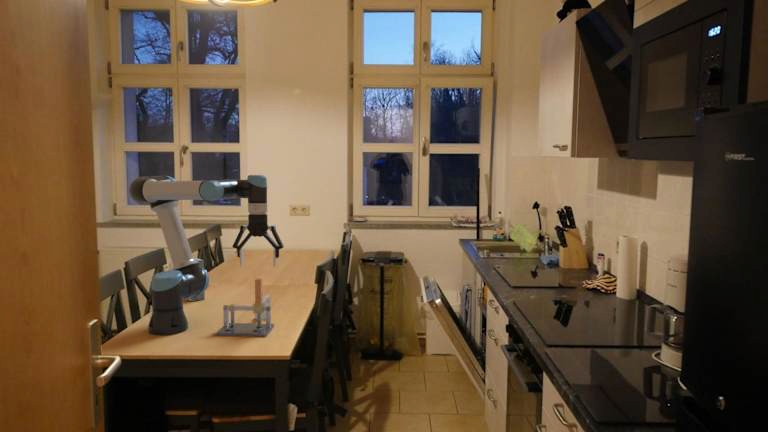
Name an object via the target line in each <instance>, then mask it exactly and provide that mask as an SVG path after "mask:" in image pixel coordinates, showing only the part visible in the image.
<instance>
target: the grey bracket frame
mask: <svg viewBox="0 0 768 432" xmlns="http://www.w3.org/2000/svg"><path fill="white" fill-rule="evenodd" d="M253 306H254V305H237V304H236V303H231V304H227V305H225V304H224V305H223V326H224V327H228V326H229V323H231V327H234V326H235V323H236V322H235V312H236V311H243V312H244V311H245V312H246V311H247V312H248V311H251V312H252V311H253V312H254V310H253ZM263 311H266V319H265V324H266V328H270V327H271V324H272V321H271V319H272V316H271V315H272V313H271V311H272V309H271V310H270V306H263ZM229 312H230V322H229Z"/></svg>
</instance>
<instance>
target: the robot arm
mask: <svg viewBox="0 0 768 432" xmlns="http://www.w3.org/2000/svg"><path fill="white" fill-rule="evenodd" d="M128 193H129V195H130V196H129V197H130V198H131V199H132V200H133V201H134V202H136V203H137V204H140V205H149V206H150V207H149V208H150V210H151V211H152V212H154V213H156V216H157V219H158V222H159V224H160V228H161V231H162V234H163V238H164V240H165V244H166V247H167V250H168V254H169V256H170V259H171V263H172V265H173V266H172V267H171V270H165V271H164V270H163V271H161V272H157V273H156V274H154V275H153V276H152V278H151V284H150V285H151V286H150V288H151V306H152V307H151V309H152V310H151V311H152V313H151V315H150V319H149V322H148V326H147V327H148V328H147V329H148V333H149V334H152V335H156V336H157V335H158V336H165V335H167V336H168V335H174V334H178V333H183V332H186V330H188V328H189V322H188V319H187V316H186V313H185V311H184V300H185V299H187V298H190V297H193V296H197V295H199V294H201V293H203V292H204V291H207V289H208V286H209V285H210V276H209V272H208V271H207V269H205V267H204V268H202V267H200V265H199V262H197V261H195V260H194V259H193V258H194V255H193V253H192V250H191V247H190V243H189V240H188V238H187V234H186V232H185V227H184V225H183V222H182V219H181V216H180V215H181V214H180V212H179V210H178V206H179V204H180V201H182V200H183V201H201V200H202V201H203V200H204V201H205V200H206V201H210V202H211V201H213V202H215V201H221V200H229V199H247V212H248V215H247V219H248V220H247V221H248V223H247V225H245V224H242V225H240V226H239V232H238V234H237V236H236V239H235V240H234V242H233V244H232V249H236V251H237V258H239V266H240V267H242V266H244V265H245V258H244V257H245V255H244V254H245V252H244V248H243V247H244V246H245V245H246V244H247V242H248V241H249V240H250V239H251V237H255V238H256V237H259V238H261V237H263V238H265V240H267V242H268V243H269V244H270V245H271V246H272V248H273V253H272V255H273V256H272V257H273V258H272V260H273V261H272V262H273V263H272V264H273V267H277V265H278V258H279V257H280V250H282V249H283V248H284V247H285V245H284V244H283V242H282V240H281V237H280V236H279V233H278V232H277V229H276V225H275V224H273V225H269V224H268V214H267V213H268V180H267V176H266V175H264V174H249V175H247V179H234V178H231V179H230V178H228V179H222V180H221V179H220V180H219V179H218V180H215V179H211V180H210V179H209V180H176V179H175V178H174V177H172V176H168V175H154V176H153V175H152V176H151V175H149V176H139V177H136V178H135V179H133V180H132V181H131V183H130V184H129V187H128ZM247 230H248V232H249V233H248V234H246V236H245V238H244V239H243V240H242V241H241V239H242V238H243V236H244V233H245V231H247ZM268 230H269V231H270V232H271V233H272V236H273V238H274V239H273V238H272V237H271V235H270V234H269V233H268ZM240 241H241V242H240ZM239 243H240V244H239Z"/></svg>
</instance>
